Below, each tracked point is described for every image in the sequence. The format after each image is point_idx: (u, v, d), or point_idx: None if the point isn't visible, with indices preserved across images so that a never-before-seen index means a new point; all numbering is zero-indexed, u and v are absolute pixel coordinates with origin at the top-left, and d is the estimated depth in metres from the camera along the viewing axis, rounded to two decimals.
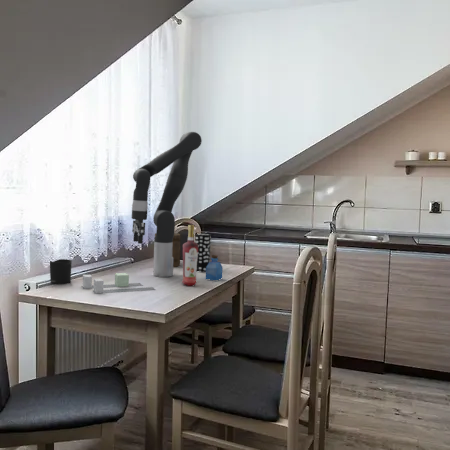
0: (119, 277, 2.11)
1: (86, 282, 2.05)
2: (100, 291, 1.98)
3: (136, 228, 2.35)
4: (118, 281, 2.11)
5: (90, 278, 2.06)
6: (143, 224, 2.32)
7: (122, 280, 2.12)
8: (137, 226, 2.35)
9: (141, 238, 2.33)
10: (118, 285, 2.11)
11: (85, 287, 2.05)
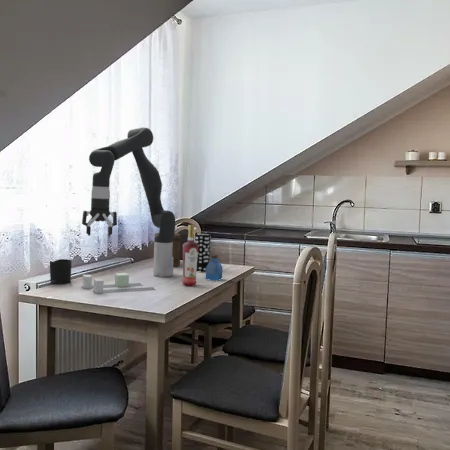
0: (119, 277, 2.11)
1: (86, 282, 2.05)
2: (100, 291, 1.98)
3: (106, 219, 2.05)
4: (118, 281, 2.11)
5: (90, 278, 2.06)
6: None
7: (122, 280, 2.12)
8: (106, 216, 2.05)
9: (111, 229, 2.08)
10: (118, 285, 2.11)
11: (85, 287, 2.05)
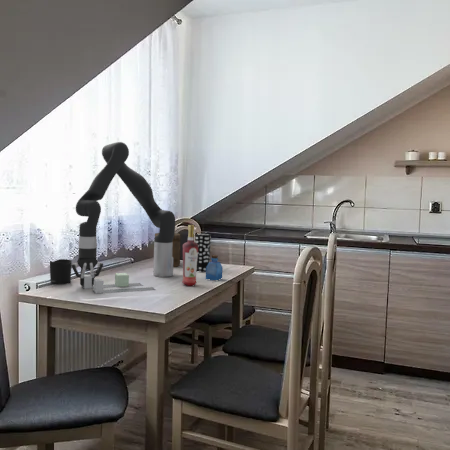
0: (119, 277, 2.11)
1: (86, 282, 2.05)
2: (100, 291, 1.98)
3: (91, 268, 2.07)
4: (118, 281, 2.11)
5: (90, 278, 2.06)
6: None
7: (122, 280, 2.12)
8: (93, 266, 2.07)
9: None
10: (118, 285, 2.11)
11: (85, 287, 2.05)
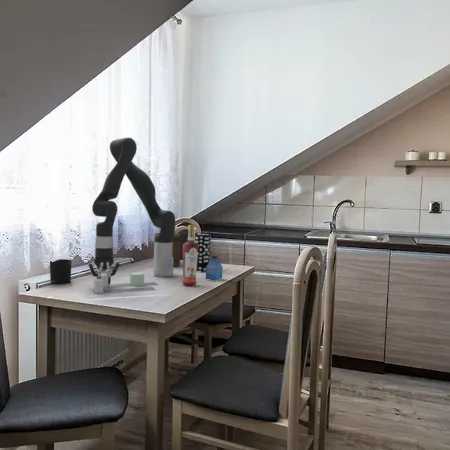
0: (135, 276, 2.14)
1: None
2: (100, 291, 1.98)
3: (107, 268, 2.10)
4: (134, 280, 2.14)
5: (107, 277, 2.09)
6: None
7: (138, 279, 2.15)
8: (109, 266, 2.10)
9: None
10: (134, 284, 2.14)
11: None
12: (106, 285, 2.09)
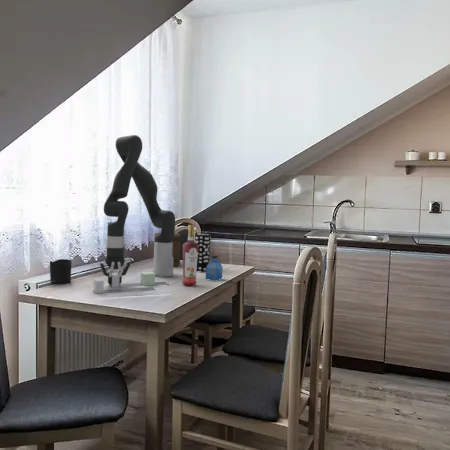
0: (145, 276, 2.16)
1: (114, 281, 2.10)
2: (100, 291, 1.98)
3: (119, 267, 2.12)
4: (144, 280, 2.16)
5: (118, 277, 2.11)
6: None
7: (148, 279, 2.17)
8: (120, 265, 2.12)
9: None
10: (144, 284, 2.16)
11: (113, 286, 2.10)
12: (117, 284, 2.11)
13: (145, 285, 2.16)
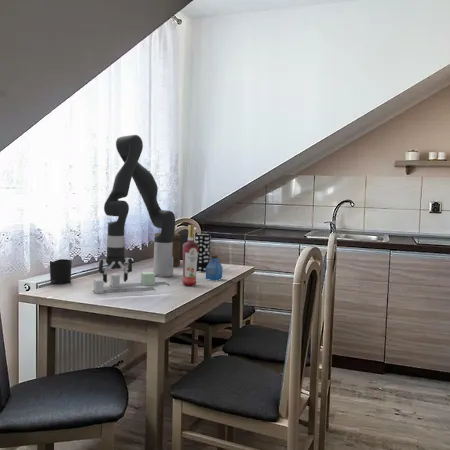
0: (146, 276, 2.16)
1: (114, 281, 2.11)
2: (100, 291, 1.98)
3: (121, 266, 2.12)
4: (145, 280, 2.16)
5: (118, 277, 2.11)
6: None
7: (149, 279, 2.17)
8: (122, 264, 2.12)
9: None
10: (145, 284, 2.17)
11: (113, 285, 2.11)
12: (117, 284, 2.11)
13: (145, 285, 2.16)
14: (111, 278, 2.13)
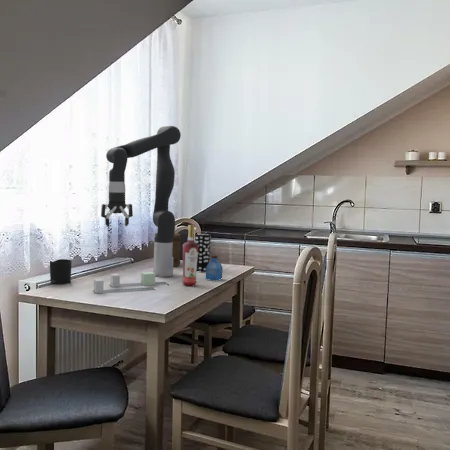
0: (146, 276, 2.16)
1: (114, 281, 2.11)
2: (100, 291, 1.98)
3: (122, 211, 2.24)
4: (145, 280, 2.16)
5: (118, 277, 2.11)
6: None
7: (149, 279, 2.17)
8: (123, 208, 2.24)
9: None
10: (145, 284, 2.17)
11: (113, 285, 2.11)
12: (117, 284, 2.11)
13: (145, 285, 2.16)
14: (111, 278, 2.13)
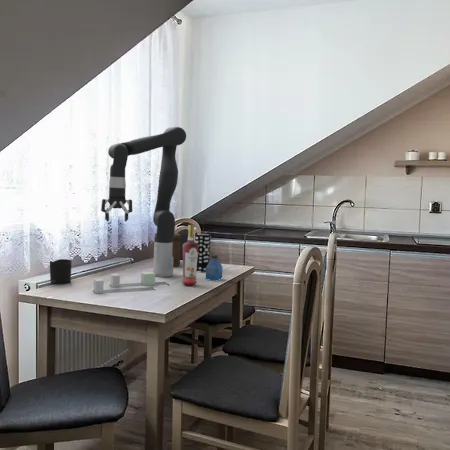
0: (146, 276, 2.16)
1: (114, 281, 2.11)
2: (100, 291, 1.98)
3: (122, 206, 2.27)
4: (145, 280, 2.16)
5: (118, 277, 2.11)
6: None
7: (149, 279, 2.17)
8: (123, 204, 2.27)
9: (127, 215, 2.30)
10: (145, 284, 2.17)
11: (113, 285, 2.11)
12: (117, 284, 2.11)
13: (145, 285, 2.16)
14: (111, 278, 2.13)
